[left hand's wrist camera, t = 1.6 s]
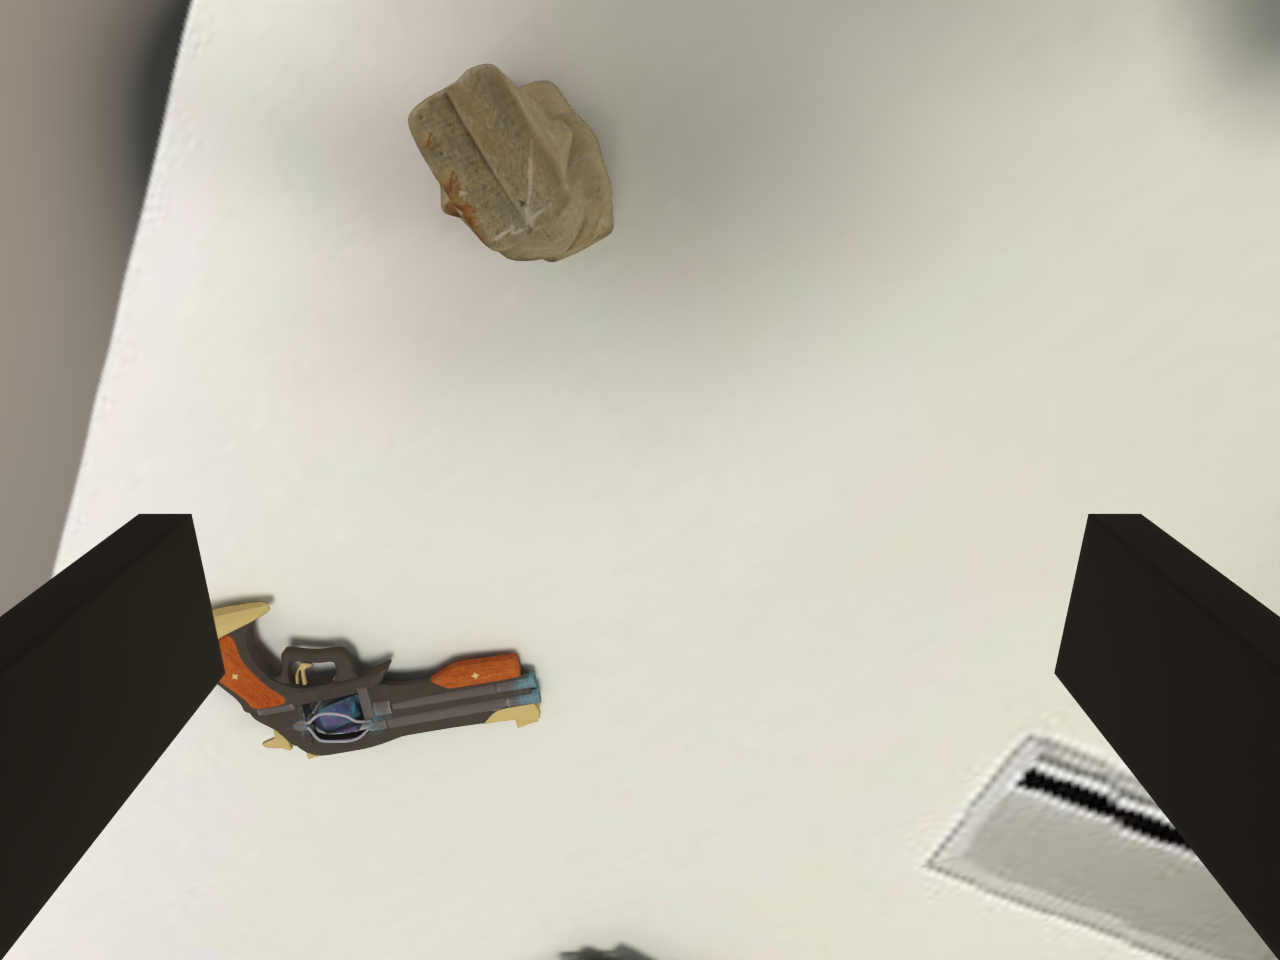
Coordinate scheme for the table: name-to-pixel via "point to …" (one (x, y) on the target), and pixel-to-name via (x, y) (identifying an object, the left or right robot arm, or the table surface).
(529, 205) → the sculpture
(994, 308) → the table surface
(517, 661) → the toy gun
